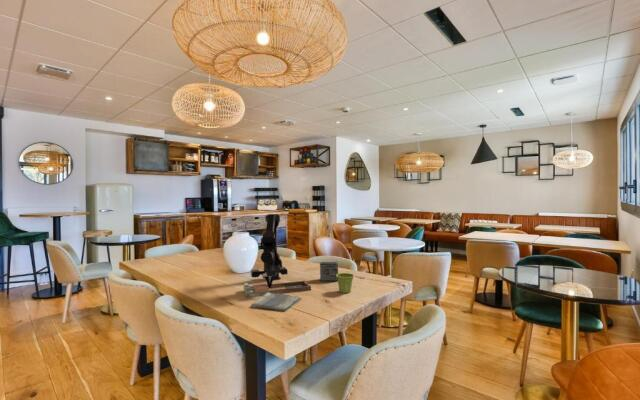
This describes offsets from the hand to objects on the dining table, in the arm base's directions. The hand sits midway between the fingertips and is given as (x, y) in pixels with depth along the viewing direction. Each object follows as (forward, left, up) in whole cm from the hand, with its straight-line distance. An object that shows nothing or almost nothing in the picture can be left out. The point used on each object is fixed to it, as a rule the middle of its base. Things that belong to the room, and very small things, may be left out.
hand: (269, 288), depth 169 cm
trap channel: (0, +4, -2) cm, 5 cm away
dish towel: (+20, 0, -2) cm, 20 cm away
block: (+1, -5, -2) cm, 5 cm away
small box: (-9, +37, -2) cm, 38 cm away
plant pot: (+15, +37, -2) cm, 40 cm away
